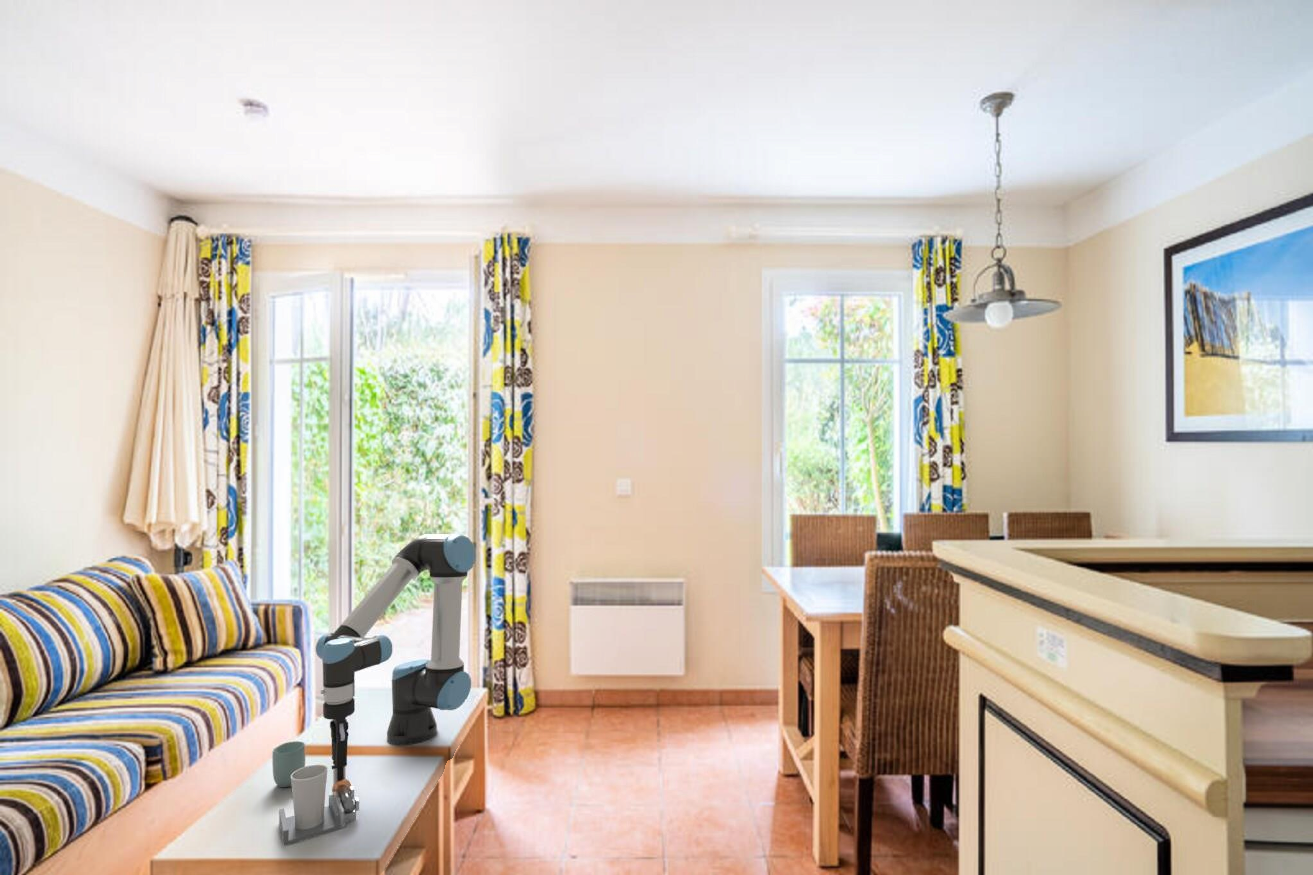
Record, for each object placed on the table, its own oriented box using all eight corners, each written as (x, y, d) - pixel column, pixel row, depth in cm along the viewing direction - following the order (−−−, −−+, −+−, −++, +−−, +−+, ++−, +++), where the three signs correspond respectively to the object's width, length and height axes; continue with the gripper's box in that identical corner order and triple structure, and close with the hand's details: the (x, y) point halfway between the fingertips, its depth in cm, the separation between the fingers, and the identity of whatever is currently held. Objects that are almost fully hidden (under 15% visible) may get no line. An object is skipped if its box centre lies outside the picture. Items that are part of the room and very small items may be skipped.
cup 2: (335, 816, 164) (334, 766, 164) (308, 833, 156) (308, 781, 156) (310, 811, 166) (310, 762, 167) (283, 828, 159) (282, 777, 159)
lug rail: (352, 802, 172) (352, 784, 172) (360, 822, 162) (360, 803, 162) (333, 807, 169) (332, 789, 169) (340, 828, 159) (340, 809, 160)
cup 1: (291, 791, 179) (290, 753, 179) (266, 789, 180) (266, 752, 180) (311, 777, 186) (311, 741, 187) (287, 776, 188) (287, 740, 188)
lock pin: (332, 798, 171) (331, 781, 172) (350, 793, 174) (350, 776, 174) (340, 820, 161) (339, 802, 161) (359, 814, 163) (359, 796, 163)
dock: (333, 807, 169) (333, 794, 169) (340, 828, 159) (340, 814, 159) (279, 823, 163) (279, 809, 163) (283, 845, 153) (283, 831, 153)
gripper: (319, 695, 178) (320, 785, 177) (326, 710, 168) (327, 805, 167) (350, 690, 183) (350, 777, 182) (358, 703, 172) (359, 796, 171)
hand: (339, 790), depth 174 cm, fingers closed
